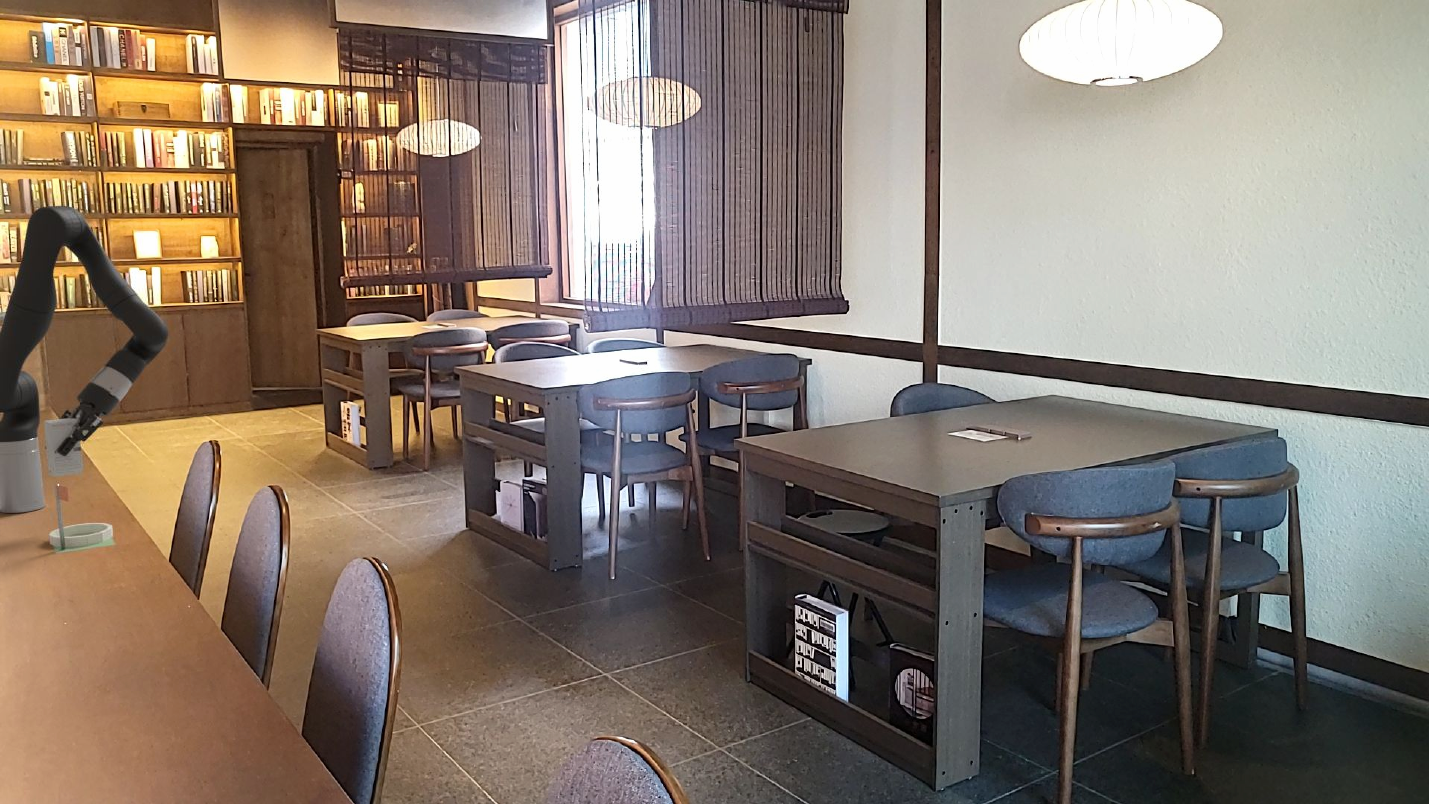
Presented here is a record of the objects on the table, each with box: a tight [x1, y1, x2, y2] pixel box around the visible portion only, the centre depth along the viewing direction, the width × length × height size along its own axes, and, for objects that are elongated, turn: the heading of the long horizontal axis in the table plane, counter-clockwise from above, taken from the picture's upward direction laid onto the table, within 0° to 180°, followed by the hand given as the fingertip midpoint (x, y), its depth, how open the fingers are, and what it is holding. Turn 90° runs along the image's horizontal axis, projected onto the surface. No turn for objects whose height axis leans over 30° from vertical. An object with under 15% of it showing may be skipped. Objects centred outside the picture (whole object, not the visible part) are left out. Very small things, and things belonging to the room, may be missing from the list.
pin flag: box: [53, 483, 70, 550], centre depth 228 cm, size 5×1×14 cm, turn 54°
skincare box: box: [43, 418, 84, 478], centre depth 244 cm, size 6×4×12 cm
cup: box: [48, 522, 114, 547], centre depth 238 cm, size 12×12×2 cm
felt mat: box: [52, 533, 116, 554], centre depth 238 cm, size 18×11×1 cm, turn 34°
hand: (55, 452), depth 243 cm, fingers closed on skincare box, 5 cm apart
